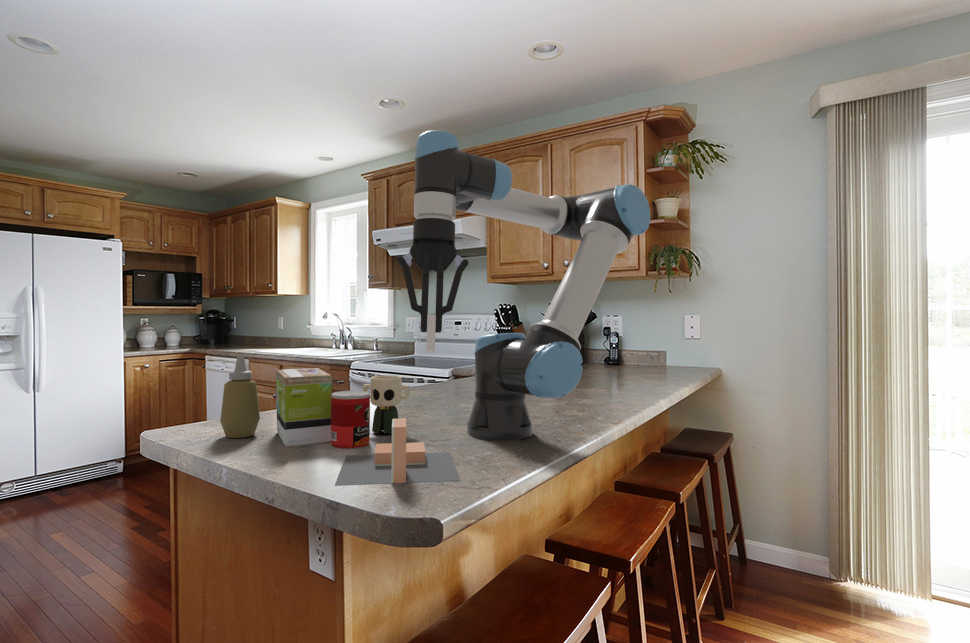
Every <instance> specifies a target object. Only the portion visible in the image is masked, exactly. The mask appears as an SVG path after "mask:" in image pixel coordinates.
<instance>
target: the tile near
mask: <svg viewBox="0 0 970 643" xmlns="http://www.w3.org/2000/svg"><path fill="white" fill-rule="evenodd" d="M391 443H392V472H391V483H390V484H407V483H406V443H407V418H405V417H404V418H399V419H392V433H391Z"/></svg>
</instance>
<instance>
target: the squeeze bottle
mask: <svg viewBox="0 0 970 643" xmlns="http://www.w3.org/2000/svg"><path fill="white" fill-rule="evenodd" d="M228 378H229V380H228V381H226V383H224V385H223V386H224V387H223V394H222V402H221V403H222V404H221V412H220V424H221V427H222V430H223V432H224V435H225V437H227V438H229V439H243V438H244V439H245V438H248V437H251V436H254V435H255V433H256V431H257V427H258V425H259V423H260V419H261V417H260V416H261V415H260V406H259V405H260V404H259V396H258V386H257V382H256V381H255V380H254V379H253V371H252V370H247V364H246V359H245V355H243V354H238V355H237V358H236V362H235V366H234V370H233V371H229V372H228ZM252 379H253V380H252Z"/></svg>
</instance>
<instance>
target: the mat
mask: <svg viewBox="0 0 970 643" xmlns="http://www.w3.org/2000/svg"><path fill="white" fill-rule="evenodd" d="M391 472H392V466H375V453H374V454H347V455H345V458H344V460H343V463H342V465H341V466H340V470H339V473H338V475H337V478H336V481H335V484H334V486H335V487H337V486H338V487H339V486H360V485H385V484H390V485H391V484H392V483H391ZM460 481H461V478H460V475H459V473H458V470H457V467H456V464H455V462H454V458H453V456H452V453H451V451H441V452H435V451H434V452H425V464H420V465H406V483H405V484H408V483H409V484H412V483H414V484H415V483H433V482H435V483H440V482H460Z"/></svg>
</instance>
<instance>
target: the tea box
mask: <svg viewBox="0 0 970 643" xmlns="http://www.w3.org/2000/svg"><path fill="white" fill-rule="evenodd" d="M275 382H276V383H275V384H276V386H275V387H276V388H275V390H276V392H275V396H276V400H275V401H276V407H275V408H276V431H277V434H278V436H279V437H280V439H281V441H282V443H283V445H284V447H286V448H287V447H298V446H305V445H307V446H308V445H315V444H323V443H331V396H332V393H333V375H331V374H330V373H328V372H326V371H324V370H323V369H321V368H319V367H313V368H312V367H309V368H308V367H306V368H305V367H301V368H288V369H287V368H286V369H276V371H275Z"/></svg>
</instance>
